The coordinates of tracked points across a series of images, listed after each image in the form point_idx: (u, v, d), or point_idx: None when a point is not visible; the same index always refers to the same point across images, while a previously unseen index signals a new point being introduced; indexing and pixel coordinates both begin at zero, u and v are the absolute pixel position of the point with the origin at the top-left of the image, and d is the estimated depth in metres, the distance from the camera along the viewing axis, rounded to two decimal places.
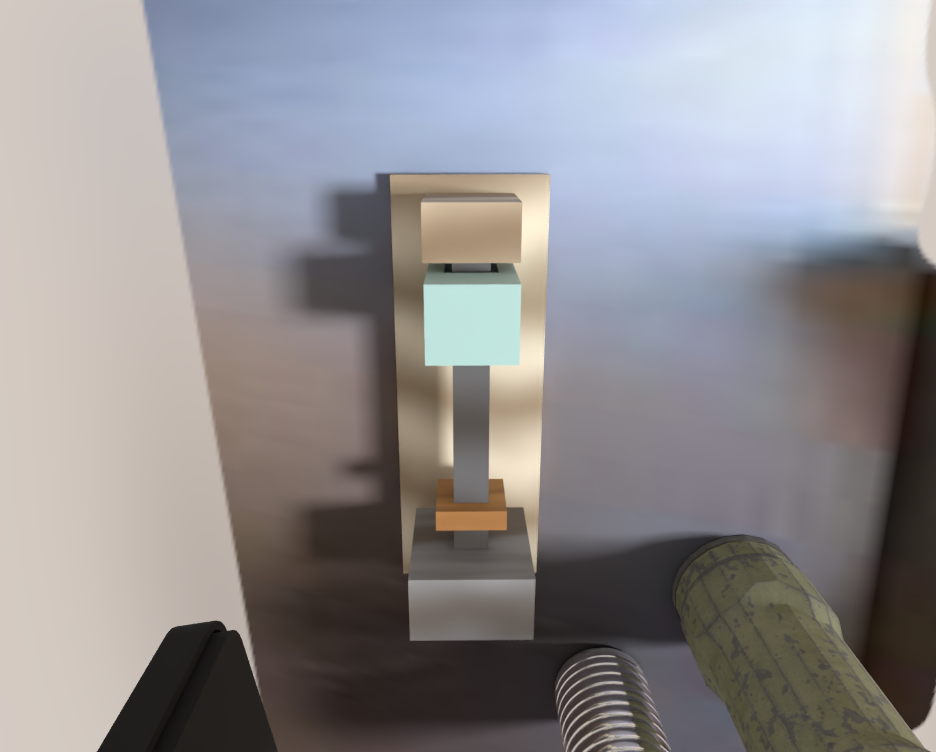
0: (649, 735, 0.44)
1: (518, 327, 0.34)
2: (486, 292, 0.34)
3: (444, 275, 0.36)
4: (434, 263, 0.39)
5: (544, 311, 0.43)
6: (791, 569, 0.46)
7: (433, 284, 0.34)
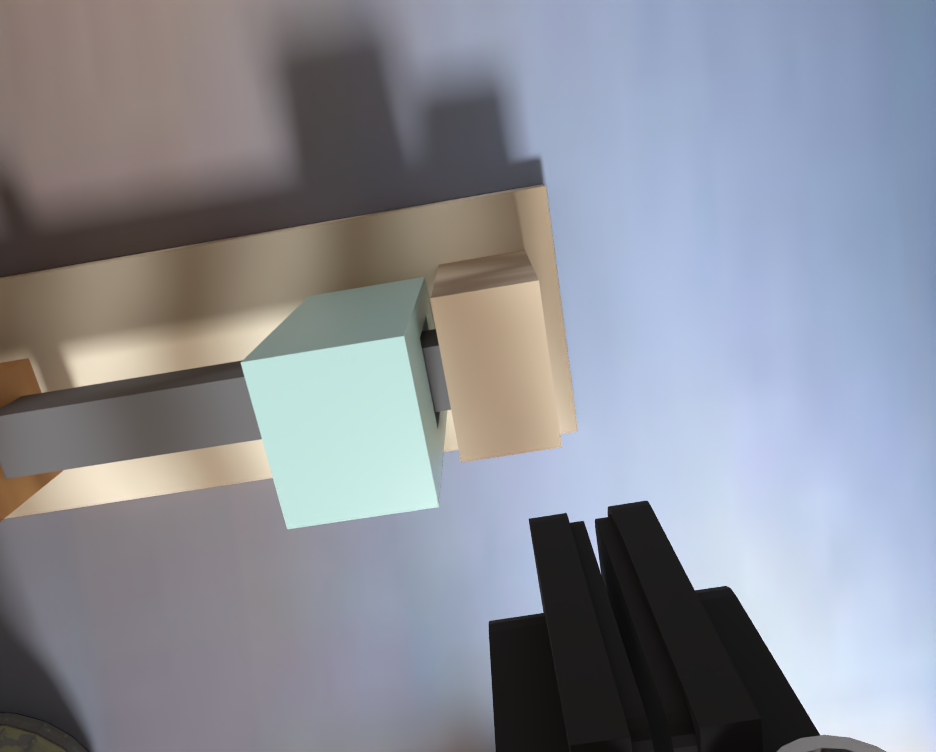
0: None
1: (358, 515, 0.19)
2: (412, 450, 0.18)
3: (418, 347, 0.19)
4: (422, 298, 0.22)
5: None
6: None
7: (407, 353, 0.17)
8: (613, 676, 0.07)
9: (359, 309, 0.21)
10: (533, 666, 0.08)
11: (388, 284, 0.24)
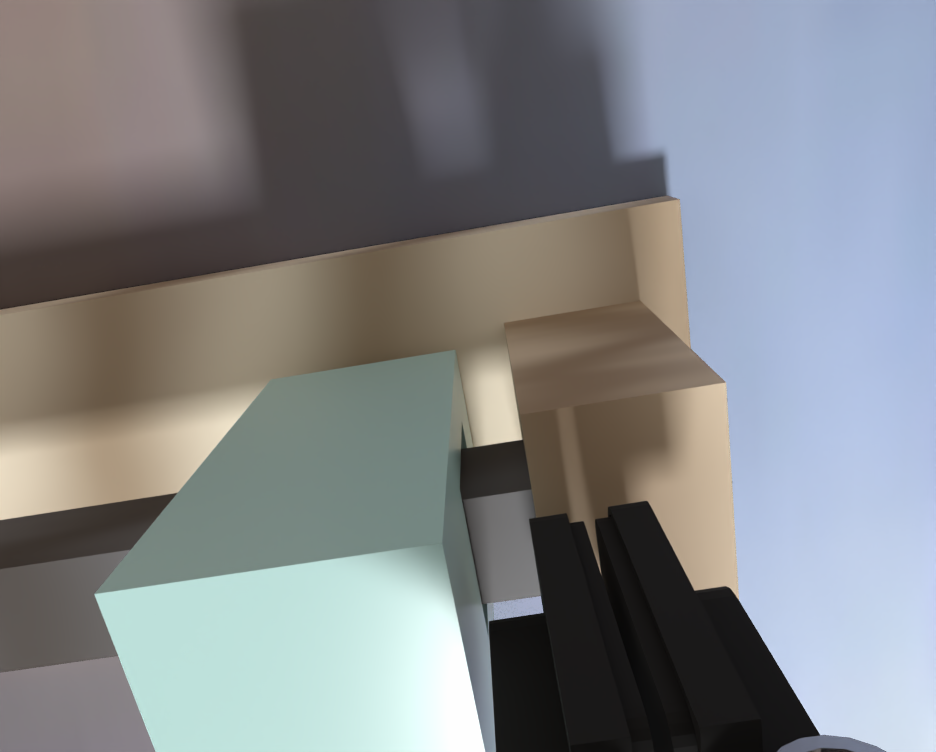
0: None
1: None
2: None
3: (459, 515, 0.10)
4: (456, 395, 0.13)
5: None
6: None
7: (447, 572, 0.08)
8: (612, 675, 0.07)
9: (349, 429, 0.12)
10: (533, 665, 0.08)
11: (398, 363, 0.15)
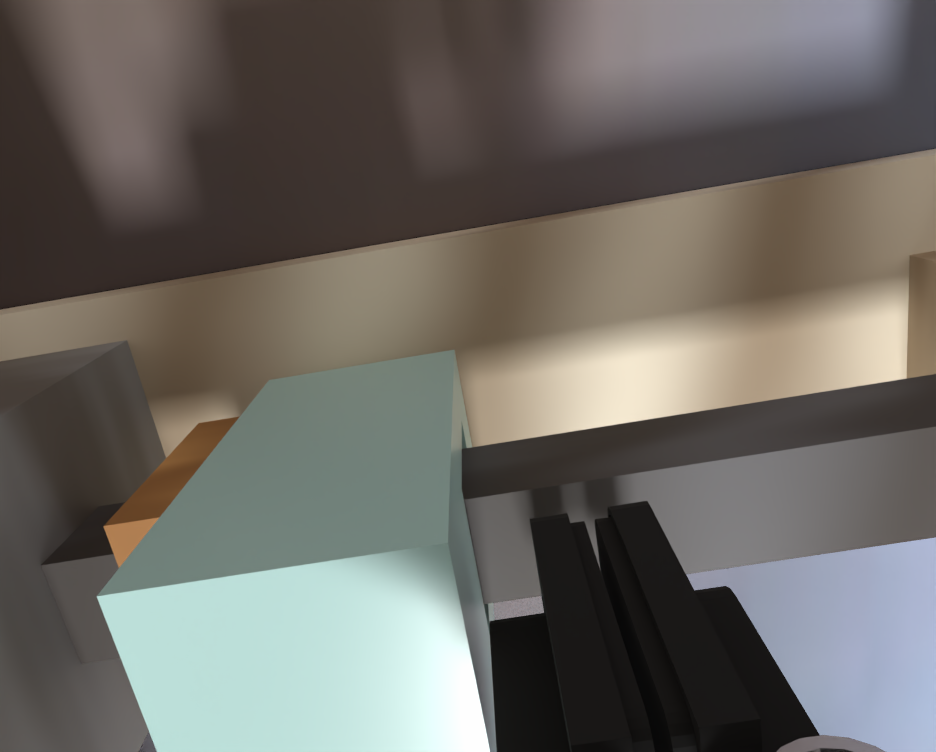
0: None
1: None
2: None
3: (461, 514, 0.10)
4: (456, 395, 0.13)
5: None
6: None
7: (453, 572, 0.08)
8: (613, 675, 0.07)
9: (350, 429, 0.12)
10: (534, 666, 0.08)
11: (397, 363, 0.15)
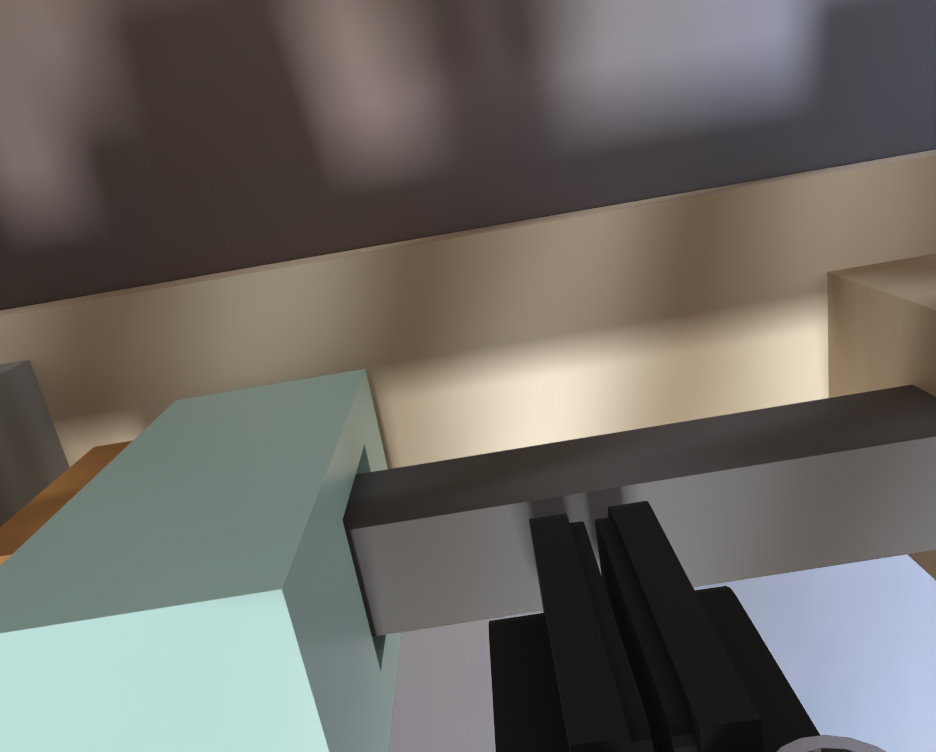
0: None
1: None
2: None
3: (335, 548, 0.10)
4: (357, 418, 0.13)
5: None
6: None
7: (292, 618, 0.08)
8: (612, 674, 0.07)
9: (233, 457, 0.11)
10: (533, 666, 0.08)
11: (305, 383, 0.14)
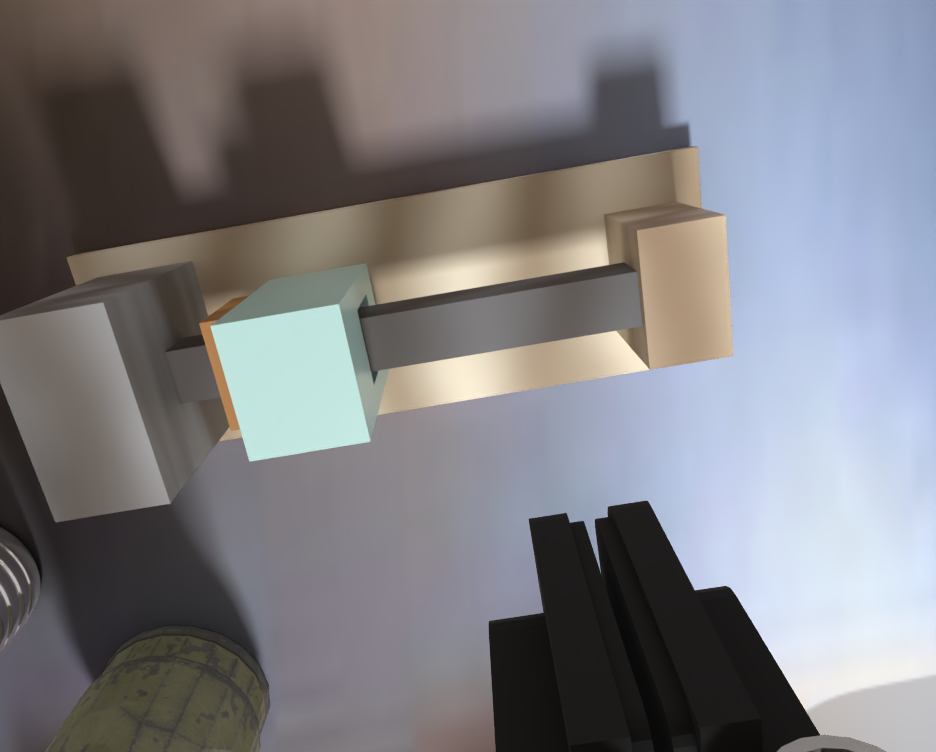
0: None
1: (306, 449, 0.23)
2: (348, 395, 0.23)
3: (354, 316, 0.24)
4: (362, 279, 0.27)
5: (533, 387, 0.32)
6: None
7: (342, 317, 0.22)
8: (612, 675, 0.07)
9: (308, 287, 0.26)
10: (533, 666, 0.08)
11: (336, 269, 0.29)
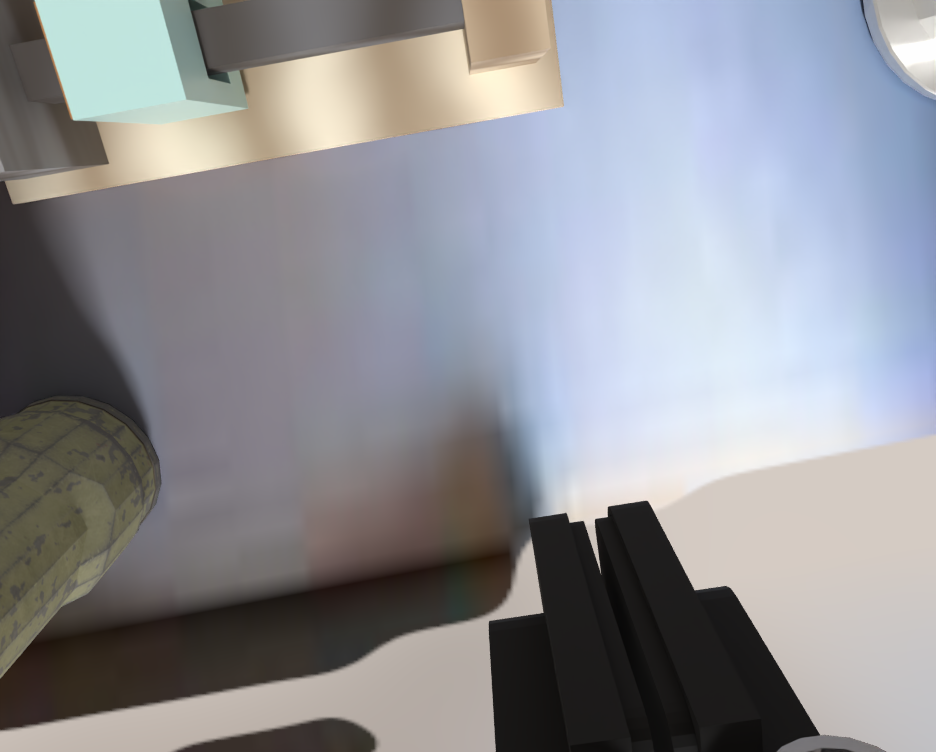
0: None
1: (126, 107, 0.25)
2: (161, 49, 0.24)
3: None
4: None
5: (393, 135, 0.33)
6: (133, 523, 0.36)
7: None
8: (612, 674, 0.07)
9: None
10: (533, 666, 0.08)
11: None
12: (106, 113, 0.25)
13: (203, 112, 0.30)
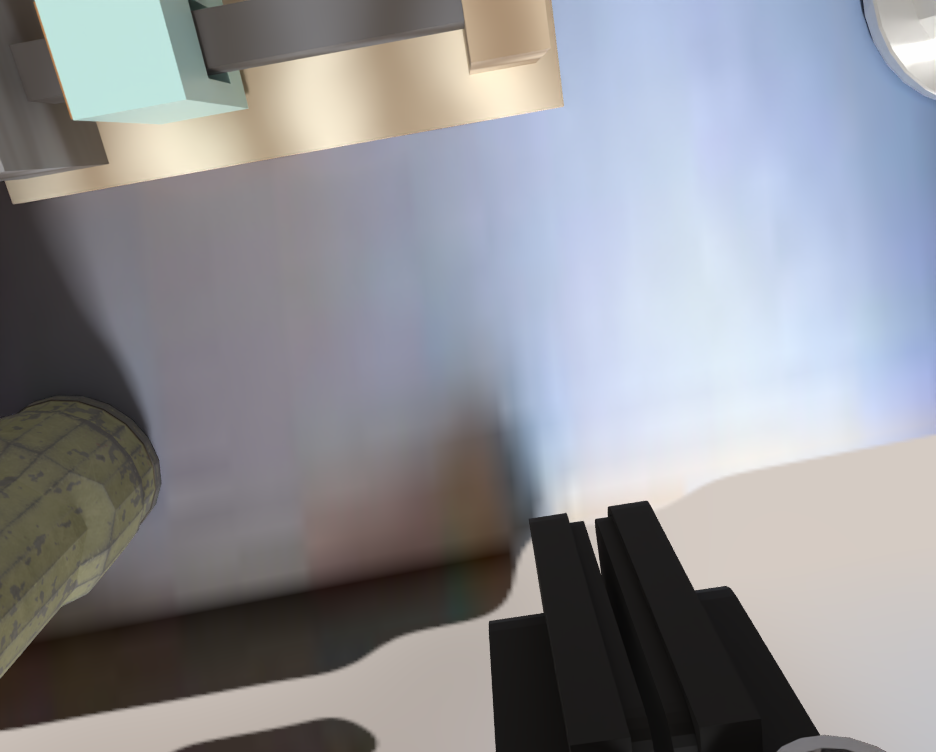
0: None
1: (126, 107, 0.25)
2: (161, 48, 0.24)
3: None
4: None
5: (393, 135, 0.33)
6: (133, 523, 0.36)
7: None
8: (612, 674, 0.07)
9: None
10: (533, 666, 0.08)
11: None
12: (106, 113, 0.25)
13: (203, 112, 0.30)
